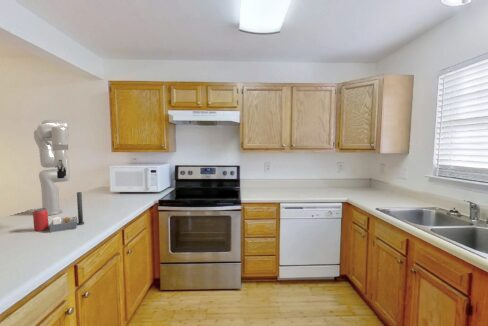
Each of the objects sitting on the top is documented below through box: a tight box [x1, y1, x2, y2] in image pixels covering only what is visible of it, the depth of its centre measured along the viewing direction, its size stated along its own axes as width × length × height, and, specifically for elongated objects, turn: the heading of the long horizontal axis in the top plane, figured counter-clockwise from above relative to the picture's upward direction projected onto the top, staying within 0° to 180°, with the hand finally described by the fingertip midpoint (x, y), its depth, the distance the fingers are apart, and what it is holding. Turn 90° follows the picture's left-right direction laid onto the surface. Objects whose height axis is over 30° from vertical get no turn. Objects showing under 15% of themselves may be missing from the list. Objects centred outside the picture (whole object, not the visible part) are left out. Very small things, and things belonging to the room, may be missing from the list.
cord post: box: [76, 191, 85, 226], centre depth 151 cm, size 4×4×20 cm
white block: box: [52, 216, 62, 225], centre depth 141 cm, size 4×3×3 cm
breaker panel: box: [49, 215, 78, 233], centre depth 146 cm, size 12×12×6 cm
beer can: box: [32, 207, 50, 232], centre depth 141 cm, size 7×7×12 cm
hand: (61, 177), depth 144 cm, fingers open, 9 cm apart
